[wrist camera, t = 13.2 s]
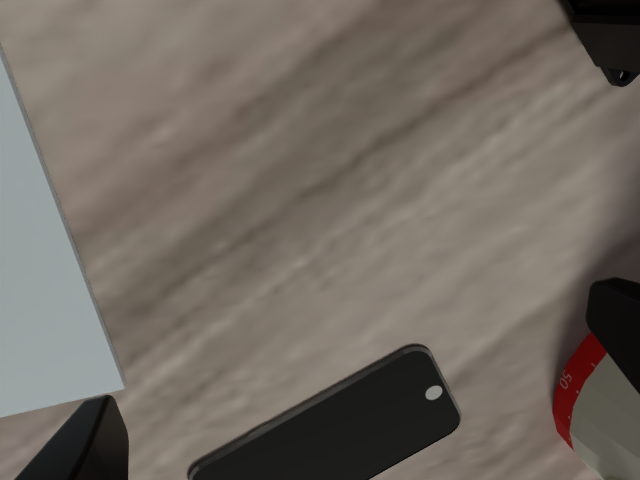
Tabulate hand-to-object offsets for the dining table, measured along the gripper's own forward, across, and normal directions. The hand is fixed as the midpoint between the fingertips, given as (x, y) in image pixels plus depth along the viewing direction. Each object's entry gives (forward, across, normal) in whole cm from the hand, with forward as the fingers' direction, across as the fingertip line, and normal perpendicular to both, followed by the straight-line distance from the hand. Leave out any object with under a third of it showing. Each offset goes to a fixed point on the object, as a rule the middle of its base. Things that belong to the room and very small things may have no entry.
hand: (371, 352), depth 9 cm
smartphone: (+14, -1, +17) cm, 22 cm away
